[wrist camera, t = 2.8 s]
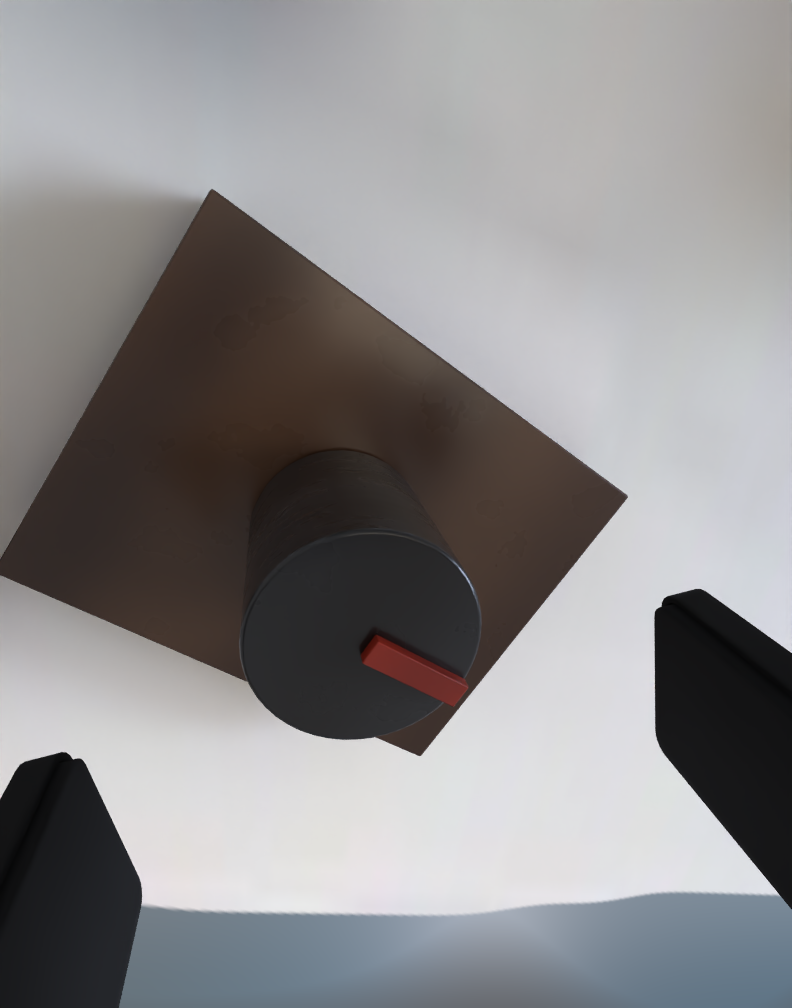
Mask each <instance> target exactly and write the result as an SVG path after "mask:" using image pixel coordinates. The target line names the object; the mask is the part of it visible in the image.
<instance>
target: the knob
mask: <svg viewBox="0 0 792 1008" xmlns="http://www.w3.org/2000/svg"><path fill="white" fill-rule="evenodd" d="M481 625H482V622H481V609H480V604H479V599H478V596H477V593H476V591H475V588H474V585H473V584H472V582H471V580H470V578H469V576H468V575H467V573H466V571H465V570H464V568H463V567H462V565H461V564H460V562H459V561H458V559H457V558H456V556H455V554H454V553H453V551H452V550H451V548H450V547H449V545H448V544H447V542H446V541H445V539H444V537H443V536H442V534H441V533H440V531H439V530H438V528H437V527H436V525H435V524H434V522H433V521H432V519H431V517H430V516H429V514H428V513H427V511H426V510H425V508H424V507H423V505H422V504H421V502H420V500H419V499H418V497H417V496H416V494H415V493H414V491H413V490H412V488H411V487H410V485H409V484H408V483H407V481H406V480H405V479H404V477H402V476H401V475H400V474H399V473H398V472H397V471H396V470H395V469H394V468H392V467H391V466H390V465H388V464H387V463H385V462H383V461H381V460H380V459H378V458H375V457H373V456H370V455H367V454H364V453H359V452H355V451H345V450H335V451H326V452H319V453H316V454H312V455H309V456H306V457H304V458H302V459H299V460H297V461H295V462H293V463H292V464H290V465H288V466H287V467H285V468H284V469H283V470H282V471H280V472H279V473H278V474H277V475H276V476H275V477H274V478H273V479H272V480H271V481H270V482H269V483H268V484H267V486H266V487H265V488H264V490H263V491H262V493H261V494H260V496H259V498H258V500H257V502H256V504H255V507H254V509H253V512H252V517H251V521H250V530H249V541H248V552H247V562H246V573H245V584H244V595H243V605H242V616H241V627H240V639H239V649H240V659H241V663H242V668H243V671H244V674H245V676H246V679H247V681H248V684H249V685H250V687H251V689H252V690H253V692H254V693H255V695H256V696H257V698H258V699H259V700H260V701H261V702H262V704H263V705H264V706H265V707H266V708H267V709H268V710H269V711H270V712H271V713H273V714H274V715H275V716H276V717H277V718H279V719H280V720H282V721H283V722H285V723H286V724H288V725H290V726H292V727H294V728H296V729H298V730H300V731H303V732H306V733H309V734H312V735H316V736H320V737H325V738H332V739H342V740H349V739H365V738H373V737H377V736H382V735H386V734H389V733H392V732H395V731H398V730H401V729H403V728H406V727H408V726H410V725H412V724H414V723H416V722H418V721H419V720H421V719H423V718H425V717H426V716H428V715H429V714H431V713H432V712H433V711H435V710H436V709H437V708H439V707H440V706H441V705H442V704H443V703H446V704H448V705H450V706H452V707H454V706H455V704H456V703H457V702H458V701H459V699H460V698H461V697H462V696H463V694H464V693H465V692H466V691H467V689H468V688H469V687H468V685H467V683H466V680H465V677H466V676H467V674H468V672H469V670H470V668H471V666H472V664H473V662H474V659H475V656H476V654H477V650H478V646H479V642H480V636H481Z"/></svg>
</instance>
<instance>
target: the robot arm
mask: <svg viewBox="0 0 792 1008" xmlns="http://www.w3.org/2000/svg"><path fill="white" fill-rule="evenodd" d="M654 619H655V731H656V737H657V741H658V743H659V746H660V748H661V749H662V751H663V753H664V754H665V756H666V757H667V758H668V759H669V761H670V762H671V763H672V764H673V765H674V767H675V768H676V769H677V770H678V772H679V773H680V774H681V775H682V776H683V778H684V779H685V780H686V781H687V782H688V784H689V785H690V786H691V787H692V789H693V790H694V791H695V792H696V793H697V795H698V796H699V797H700V798H701V800H702V801H703V802H704V803H705V804H706V806H707V807H708V808H709V809H710V810H711V812H712V813H713V814H714V815H715V817H716V818H717V819H718V820H719V821H720V823H721V824H722V825H723V826H724V828H725V829H726V830H727V831H728V832H729V834H730V835H731V836H732V837H733V839H734V840H735V841H736V842H737V843H738V845H739V846H740V847H741V848H742V849H743V851H744V852H745V853H746V854H747V856H748V857H749V858H750V859H751V860H752V862H753V863H754V864H755V865H756V867H757V868H758V869H759V870H760V871H761V873H762V874H763V875H764V876H765V877H766V879H767V880H768V881H769V882H770V884H771V885H772V886H773V887H774V888H775V890H776V891H777V892H778V893H779V895H780V896H781V897H782V898H783V899H784V901H785V902H786V903H787V904H788V906H789V907H790V908H791V909H792V653H791V652H789V651H788V650H786V649H785V648H784V647H782V646H781V645H780V644H778V643H777V642H775V641H774V640H773V639H771V638H770V637H768V636H767V635H766V634H764V633H763V632H761V631H760V630H759V629H757V628H756V627H754V626H753V625H752V624H750V623H749V622H748V621H746V620H745V619H743V618H742V617H741V616H739V615H738V614H736V613H735V612H734V611H732V610H731V609H729V608H728V607H727V606H725V605H724V604H723V603H721V602H720V601H718V600H717V599H716V598H714V597H713V596H711V595H710V594H709V593H707V592H706V591H704V590H702V589H694V590H690V591H686V592H683V593H679V594H675V595H671V596H667V597H666V598H664V600H663V602H662V607H660V608H658V609H656V611H655V617H654ZM141 903H142V888H141V882H140V879H139V876H138V874H137V872H136V870H135V868H134V866H133V864H132V862H131V859H130V857H129V855H128V853H127V851H126V849H125V847H124V845H123V842H122V840H121V838H120V836H119V834H118V832H117V830H116V828H115V826H114V823H113V821H112V819H111V817H110V815H109V813H108V811H107V809H106V806H105V804H104V802H103V800H102V798H101V796H100V794H99V792H98V790H97V787H96V785H95V783H94V781H93V779H92V777H91V775H90V773H89V770H88V768H87V766H86V764H85V763H84V761H83V760H81V759H72V758H71V756H70V755H69V754H67V753H66V752H61V753H57V754H53V755H49V756H45V757H41V758H38V759H34V760H30V761H26V762H24V763H22V764H20V766H19V767H18V768H17V770H16V771H15V773H14V775H13V777H12V779H11V780H10V782H9V784H8V786H7V788H6V790H5V792H4V793H3V795H2V797H1V799H0V1008H119V1003H120V999H121V995H122V990H123V986H124V981H125V977H126V972H127V968H128V963H129V959H130V954H131V949H132V945H133V941H134V936H135V931H136V926H137V922H138V918H139V913H140V909H141Z"/></svg>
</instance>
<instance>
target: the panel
mask: <svg viewBox="0 0 792 1008" xmlns="http://www.w3.org/2000/svg"><path fill="white" fill-rule="evenodd" d="M335 450H345V451H355V452H359V453H364V454H367V455H370V456H373V457H375V458H378V459H380V460H381V461H383V462H385V463H387V464H388V465H390V466H391V467H392V468H394V469H395V470H396V471H397V472H398V473H399V474H400V475H401V476H402V477H404V479H405V480H406V481H407V483H408V484H409V485H410V487H411V488H412V490H413V491H414V493H415V494H416V496H417V497H418V499H419V500H420V502H421V504H422V505H423V507H424V508H425V510H426V511H427V513H428V514H429V516H430V517H431V519H432V521H433V522H434V524H435V525H436V527H437V528H438V530H439V531H440V533H441V534H442V536H443V537H444V539H445V541H446V542H447V544H448V545H449V547H450V548H451V550H452V551H453V553H454V554H455V556H456V558H457V559H458V561H459V562H460V564H461V565H462V567H463V568H464V570H465V571H466V573H467V575H468V576H469V578H470V580H471V582H472V584H473V585H474V588H475V591H476V593H477V596H478V599H479V604H480V609H481V622H482V625H481V636H480V642H479V646H478V650H477V654H476V656H475V659H474V662H473V664H472V666H471V668H470V670H469V672H468V674H467V676H466V677H465V680H466V683H467V685H468V687H469V688H468V689H467V691H466V692H465V693H464V694H463V696H462V697H461V698H460V699H459V701H458V702H457V703H456V704H455V706H454V707H452V706H450V705H448V704H446V703H443V704H442V705H441V706H440V707H439V708H437V709H436V710H435V711H433V712H432V713H431V714H429V715H428V716H426V717H425V718H423V719H421V720H419V721H418V722H416V723H414V724H412V725H410V726H408V727H406V728H403V729H401V730H398V731H395V732H392V733H389V734H386V735H382V736H377V737H376V738H379V739H381V740H383V741H386V742H388V743H390V744H393V745H395V746H397V747H399V748H402V749H404V750H406V751H409V752H411V753H413V754H416V755H418V756H421V755H422V754H423V753H424V751H425V750H426V749H427V748H428V746H429V745H430V744H431V743H432V741H433V740H434V739H435V738H436V736H437V735H438V734H439V733H440V731H441V730H442V729H443V728H444V726H445V725H446V724H447V723H448V721H449V720H450V719H451V718H452V716H453V715H454V714H455V713H456V711H457V710H458V709H459V708H460V706H461V705H462V704H463V703H464V701H465V700H466V699H467V698H468V696H469V695H470V694H471V693H472V691H473V690H474V689H475V688H476V686H477V685H478V684H479V683H480V681H481V680H482V679H483V678H484V676H485V675H486V674H487V673H488V671H489V670H490V669H491V668H492V666H493V665H494V664H495V663H496V661H497V660H498V659H499V658H500V656H501V655H502V654H503V653H504V651H505V650H506V649H507V648H508V646H509V645H510V644H511V643H512V641H513V640H514V639H515V638H516V636H517V635H518V634H519V633H520V631H521V630H522V629H523V628H524V626H525V625H526V624H527V623H528V622H529V620H530V619H531V618H532V617H533V615H534V614H535V613H536V612H537V610H538V609H539V608H540V607H541V605H542V604H543V603H544V602H545V600H546V599H547V598H548V597H549V595H550V594H551V593H552V592H553V590H554V589H555V588H556V587H557V585H558V584H559V583H560V582H561V580H562V579H563V578H564V577H565V575H566V574H567V573H568V572H569V570H570V569H571V568H572V567H573V565H574V564H575V563H576V562H577V560H578V559H579V558H580V557H581V555H582V554H583V553H584V552H585V550H586V549H587V548H588V547H589V545H590V544H591V543H592V542H593V540H594V539H595V538H596V537H597V535H598V534H599V533H600V532H601V530H602V529H603V528H604V527H605V525H606V524H607V523H608V522H609V520H610V519H611V518H612V517H613V515H614V514H615V513H616V512H617V510H618V509H619V508H620V507H621V505H622V504H623V503H624V502H625V500H626V499H627V498H628V496H627V495H626V494H625V493H623V492H622V491H621V490H619V489H618V488H617V487H615V486H614V485H613V484H611V483H610V482H609V481H607V480H606V479H604V478H603V477H602V476H600V475H599V474H598V473H596V472H595V471H594V470H592V469H591V468H590V467H588V466H587V465H586V464H584V463H583V462H582V461H580V460H579V459H577V458H576V457H575V456H573V455H572V454H571V453H569V452H568V451H567V450H565V449H564V448H563V447H561V446H560V445H559V444H557V443H556V442H554V441H553V440H552V439H550V438H549V437H548V436H546V435H545V434H544V433H542V432H541V431H540V430H538V429H537V428H536V427H534V426H533V425H531V424H530V423H529V422H527V421H526V420H525V419H523V418H522V417H521V416H519V415H518V414H517V413H515V412H514V411H513V410H511V409H510V408H508V407H507V406H506V405H504V404H503V403H502V402H500V401H499V400H498V399H496V398H495V397H494V396H492V395H491V394H490V393H488V392H487V391H485V390H484V389H483V388H481V387H480V386H479V385H477V384H476V383H475V382H473V381H472V380H471V379H469V378H468V377H467V376H465V375H464V374H462V373H461V372H460V371H458V370H457V369H456V368H454V367H453V366H452V365H450V364H449V363H448V362H446V361H445V360H444V359H442V358H441V357H440V356H438V355H437V354H435V353H434V352H433V351H431V350H430V349H429V348H427V347H426V346H425V345H423V344H422V343H421V342H419V341H418V340H417V339H415V338H414V337H412V336H411V335H410V334H408V333H407V332H406V331H404V330H403V329H402V328H400V327H399V326H398V325H396V324H395V323H394V322H392V321H391V320H389V319H388V318H387V317H385V316H384V315H383V314H381V313H380V312H379V311H377V310H376V309H375V308H373V307H372V306H371V305H369V304H368V303H366V302H365V301H364V300H362V299H361V298H360V297H358V296H357V295H356V294H354V293H353V292H352V291H350V290H349V289H348V288H346V287H345V286H343V285H342V284H341V283H339V282H338V281H337V280H335V279H334V278H333V277H331V276H330V275H329V274H327V273H326V272H325V271H323V270H322V269H320V268H319V267H318V266H316V265H315V264H314V263H312V262H311V261H310V260H308V259H307V258H306V257H304V256H303V255H302V254H300V253H299V252H298V251H296V250H295V249H293V248H292V247H291V246H289V245H288V244H287V243H285V242H284V241H283V240H281V239H280V238H279V237H277V236H276V235H275V234H273V233H272V232H270V231H269V230H268V229H266V228H265V227H264V226H262V225H261V224H260V223H258V222H257V221H256V220H254V219H253V218H252V217H250V216H249V215H247V214H246V213H245V212H243V211H242V210H241V209H239V208H238V207H237V206H235V205H234V204H233V203H231V202H230V201H229V200H227V199H226V198H224V197H223V196H222V195H220V194H219V193H218V192H216V191H215V190H213V189H211V190H210V191H209V193H208V195H207V197H206V198H205V200H204V202H203V204H202V205H201V207H200V209H199V211H198V212H197V214H196V216H195V218H194V219H193V221H192V223H191V225H190V226H189V228H188V230H187V232H186V233H185V235H184V237H183V239H182V241H181V242H180V244H179V246H178V248H177V249H176V251H175V253H174V255H173V256H172V258H171V260H170V262H169V263H168V265H167V267H166V269H165V270H164V272H163V274H162V276H161V277H160V279H159V281H158V283H157V285H156V286H155V288H154V290H153V292H152V293H151V295H150V297H149V299H148V300H147V302H146V304H145V306H144V307H143V309H142V311H141V313H140V314H139V316H138V318H137V320H136V321H135V323H134V325H133V327H132V329H131V330H130V332H129V334H128V336H127V337H126V339H125V341H124V343H123V344H122V346H121V348H120V350H119V351H118V353H117V355H116V357H115V358H114V360H113V362H112V364H111V365H110V367H109V369H108V371H107V373H106V374H105V376H104V378H103V380H102V381H101V383H100V385H99V387H98V388H97V390H96V392H95V394H94V395H93V397H92V399H91V401H90V402H89V404H88V406H87V408H86V409H85V411H84V413H83V415H82V417H81V418H80V420H79V422H78V424H77V425H76V427H75V429H74V431H73V432H72V434H71V436H70V438H69V439H68V441H67V443H66V445H65V446H64V448H63V450H62V452H61V453H60V455H59V457H58V459H57V461H56V462H55V464H54V466H53V468H52V469H51V471H50V473H49V475H48V476H47V478H46V480H45V482H44V483H43V485H42V487H41V489H40V490H39V492H38V494H37V496H36V497H35V499H34V501H33V503H32V504H31V506H30V508H29V510H28V512H27V513H26V515H25V517H24V519H23V520H22V522H21V524H20V526H19V527H18V529H17V531H16V533H15V534H14V536H13V538H12V540H11V541H10V543H9V545H8V547H7V548H6V550H5V552H4V554H3V556H2V557H1V559H0V575H1V576H4V577H6V578H8V579H11V580H13V581H15V582H18V583H20V584H22V585H25V586H27V587H29V588H31V589H34V590H36V591H38V592H41V593H43V594H45V595H48V596H50V597H52V598H55V599H57V600H59V601H62V602H64V603H66V604H69V605H71V606H73V607H75V608H78V609H80V610H82V611H85V612H87V613H89V614H92V615H94V616H96V617H99V618H101V619H103V620H106V621H108V622H110V623H112V624H115V625H117V626H119V627H122V628H124V629H126V630H129V631H131V632H133V633H136V634H138V635H140V636H143V637H145V638H147V639H150V640H152V641H154V642H156V643H159V644H161V645H163V646H166V647H168V648H170V649H173V650H175V651H177V652H180V653H182V654H184V655H187V656H189V657H191V658H193V659H196V660H198V661H200V662H203V663H205V664H207V665H210V666H212V667H214V668H217V669H219V670H221V671H224V672H226V673H228V674H231V675H233V676H235V677H237V678H240V679H242V680H244V681H247V679H246V676H245V674H244V671H243V668H242V663H241V659H240V649H239V639H240V627H241V616H242V605H243V595H244V584H245V573H246V562H247V552H248V541H249V530H250V521H251V517H252V512H253V509H254V507H255V504H256V502H257V500H258V498H259V496H260V494H261V493H262V491H263V490H264V488H265V487H266V486H267V484H268V483H269V482H270V481H271V480H272V479H273V478H274V477H275V476H276V475H277V474H278V473H279V472H280V471H282V470H283V469H284V468H285V467H287V466H288V465H290V464H292V463H293V462H295V461H297V460H299V459H302V458H304V457H306V456H309V455H312V454H316V453H319V452H326V451H335ZM247 682H248V681H247Z"/></svg>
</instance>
